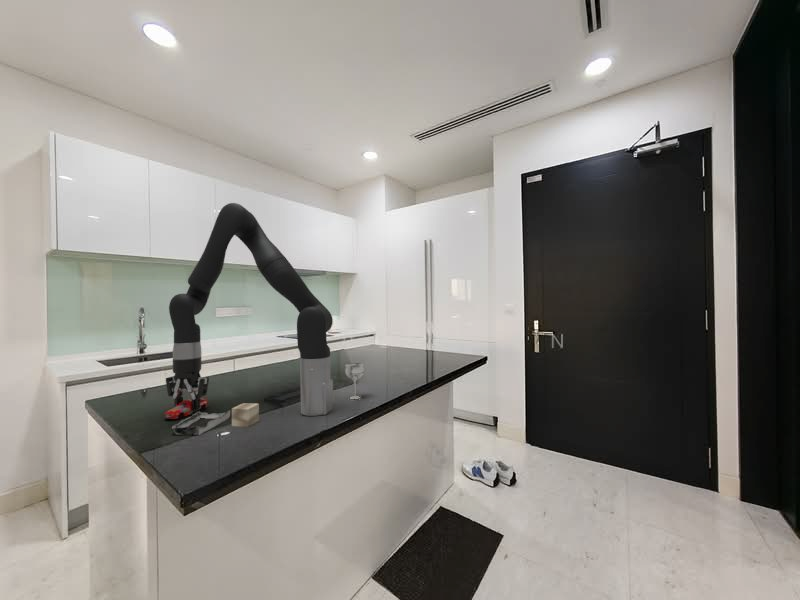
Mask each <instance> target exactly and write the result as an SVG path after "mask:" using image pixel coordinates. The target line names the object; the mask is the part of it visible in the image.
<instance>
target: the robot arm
mask: <svg viewBox="0 0 800 600" xmlns="http://www.w3.org/2000/svg"><path fill="white" fill-rule="evenodd" d="M234 236H235V237H237V238H238V239H239V240H240V241H241V243H243V244H244V245H245V246H246V247H247V249H248V250H249V251H250V253H251V255H252V256H253V259H254V263H255V265H256V266H257V269H258V270H259V273H261V275H262V276H263V278H264V279H265V280H266V282H267V283H268V284H269V285H270V286H271V287H272V289H274V291H276V292H277V293H278V294H279V295H281V297H283V298H285V300H287V301H289V303H291V304H292V305H293V306H294V308H295V309H296V310H297V311H298V312H299V314H298V316H297V318H296V337H297V338H296V339H297V341H296V342H297V349H298V351H299V355H300V357H299V359H300V361H299V362H300V363H299V364H300V368H299V370H300V375H299V376H300V377H299V378H300V413H301V415H303V416H308V417H309V416H310V417H313V416H314V417H315V416H316V417H317V416H321V415H324V416H325V415H327V414H328V413H330V412H331V411H332V410H333V409H334V380H333V379H332V378H331V348H330V346H329V345H328V342H327V332H329V331H330V330H331V328H332V326H333V316H332V313H331V312H330V311H329V309H328V308H327V307H326V306H325V305H324V304H323V303H322V302H321V301H320V300H319V299H318V298H317V297H316V296H315V295H314V294H313V292H312V291H311V290H310V289H309V287H308V286H307V284H306V283H305V282H304V280H303V279H302V278H301V276H300V274H298V272H297V271H296V269H295V268H294V267H293V265H292V264H291V262H289V260H288V259H287V257H286V256H285V255H284V254H283V253H282V252H281V251H280V250H279V248H278V247H277V245H275V244H274V243H273V242H272V241H271V240H270V239H269V238H268V236H267V234H266V233H265V231H264V230H263V228H262V226H261V225H260V224H259V222H258V220H257V218H256V216H255V215H253V213H252V212H250V211H249V210H248V209H247V208H245V207H244V206H243V205H241V204H240V203H236V202H230V203H227V204H226V205H224V206H223V207H222V208H221V209H220V211H219V213H218V215H217V217H216V220H215V223H214V225H213V228H212V231H211V233H210V235H209V238H208V239H207V240H208V241H207V244H206V246H205V247H204V248H205V249H204V250H203V252H202V254H201V256H200V258H199V260H198V261H197V263H196V265H195V266H194V268H193V270H192V272H190V273H191V274H190V275H189V277H188V279H187V283H188V285H189V287H188V289H187V291H186V293H178V294H175V295H173V297H172V298H171V299H170V302H169V306H168V313H169V316H170V320H171V324H172V327H173V348H172V373H173V374H174V375H173V376H168V377H166V378H165V385H166V390H167V396H168V397H172V398H173V399H174V405H173V406H174V407H176V406H175V405H178V404H179V403H181V402H183V401H184V397H183V395H184V393H185V391H186V390H187V392H188V393H189V394H190V396H191V399H192V411H197V410H199V408H200V399H202V398H203V397H205V396H206V395H207V393H208V387H209V381H210V377H209V376H206V377H202V376H201V374H200V372H201V370H202V344H201V326H200V325H199V324H198V323H197V322H196V319H195V318H196V315H198V314H200V313H201V312H202V311H203V310H204V309H205V307H206V305H207V303H208V300H209V298H210V294H211V291H212V288H213V287H214V286H215V284H216V282H217V280H218V278H219V277H220V275H221V273H222V271H223V267H224V264H225V259H226V254H227V250H228V246H229V244H230V242H231V241H232V239H233V237H234ZM174 407H173V408H174ZM197 412H198V411H197Z"/></svg>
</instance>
